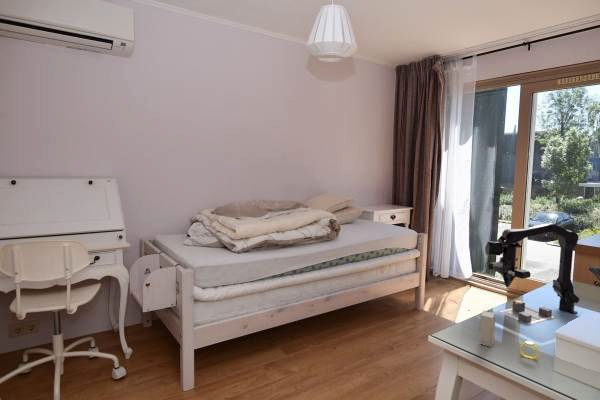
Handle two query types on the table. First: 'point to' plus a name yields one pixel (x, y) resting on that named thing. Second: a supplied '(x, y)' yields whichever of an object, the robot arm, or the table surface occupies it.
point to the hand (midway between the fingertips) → (507, 286)
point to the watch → (529, 345)
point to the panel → (530, 315)
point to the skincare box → (487, 328)
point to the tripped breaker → (518, 306)
